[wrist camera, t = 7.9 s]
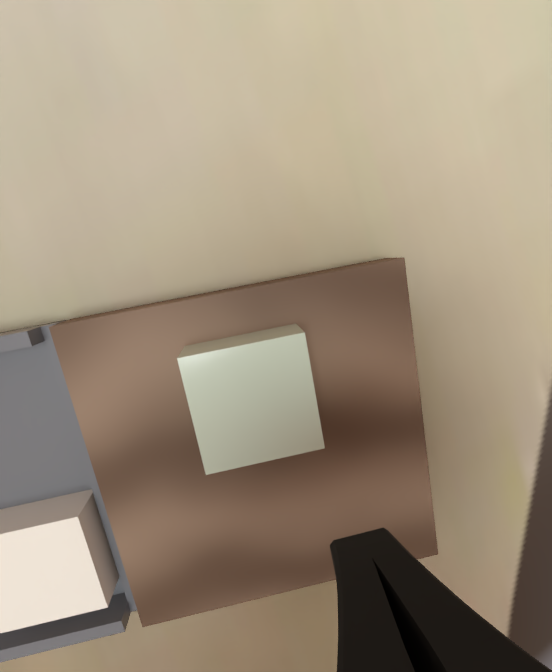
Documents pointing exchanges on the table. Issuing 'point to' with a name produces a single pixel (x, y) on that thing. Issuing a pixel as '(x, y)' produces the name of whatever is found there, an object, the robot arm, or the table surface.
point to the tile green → (251, 397)
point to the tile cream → (53, 561)
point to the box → (48, 475)
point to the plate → (262, 478)
